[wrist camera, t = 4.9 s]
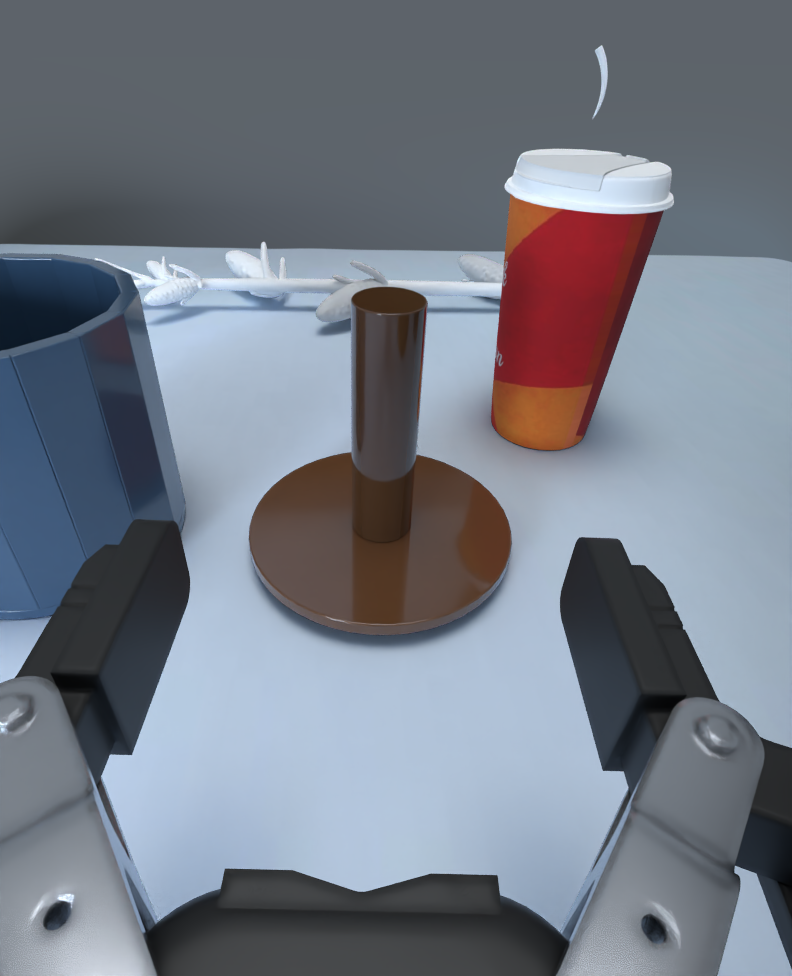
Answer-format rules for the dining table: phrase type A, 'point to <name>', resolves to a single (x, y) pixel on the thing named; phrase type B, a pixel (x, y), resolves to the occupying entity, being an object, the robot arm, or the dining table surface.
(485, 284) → the dried plant stem
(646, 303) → the dining table surface
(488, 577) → the paper towel holder
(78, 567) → the blue faceted canister
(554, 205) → the paper cup
